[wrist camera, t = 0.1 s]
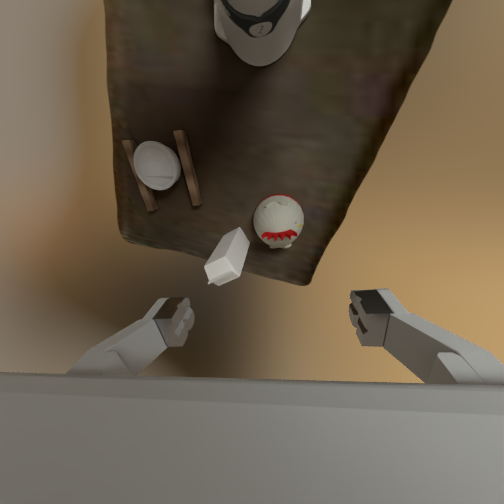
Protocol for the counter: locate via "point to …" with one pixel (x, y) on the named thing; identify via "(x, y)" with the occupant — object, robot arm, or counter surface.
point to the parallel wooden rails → (186, 164)
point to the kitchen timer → (278, 220)
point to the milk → (227, 258)
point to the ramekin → (156, 165)
